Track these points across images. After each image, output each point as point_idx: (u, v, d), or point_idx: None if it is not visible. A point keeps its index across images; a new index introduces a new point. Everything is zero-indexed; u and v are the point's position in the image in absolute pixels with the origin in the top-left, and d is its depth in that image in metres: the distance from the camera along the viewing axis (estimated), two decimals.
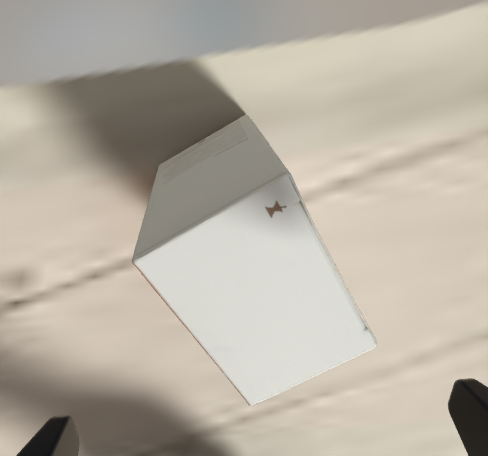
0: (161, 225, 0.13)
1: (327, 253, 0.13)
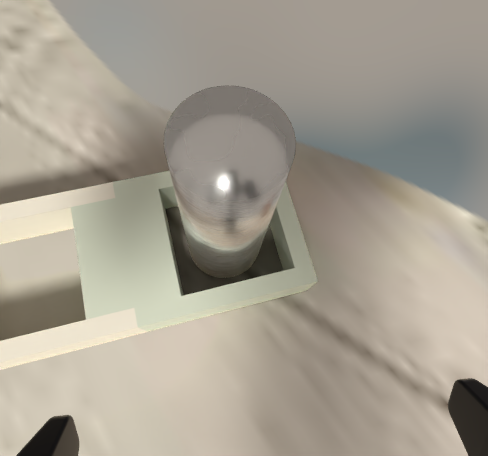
0: None
1: None
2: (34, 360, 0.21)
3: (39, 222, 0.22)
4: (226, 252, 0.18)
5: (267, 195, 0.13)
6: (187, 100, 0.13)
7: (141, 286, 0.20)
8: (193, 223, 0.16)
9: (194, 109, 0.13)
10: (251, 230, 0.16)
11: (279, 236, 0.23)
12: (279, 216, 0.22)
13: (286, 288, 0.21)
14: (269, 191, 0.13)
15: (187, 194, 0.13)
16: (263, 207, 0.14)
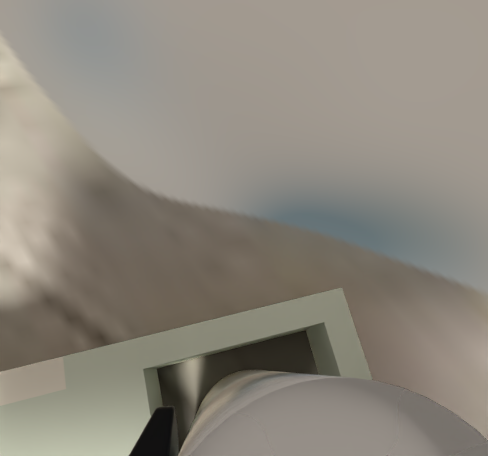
0: None
1: None
2: None
3: None
4: None
5: None
6: (205, 450, 0.04)
7: None
8: None
9: None
10: None
11: None
12: None
13: None
14: None
15: None
16: None
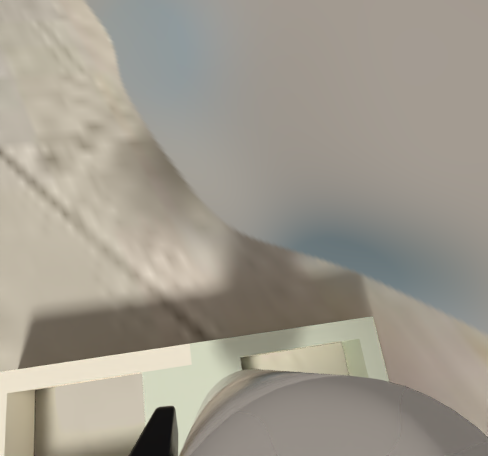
0: None
1: None
2: None
3: (103, 378, 0.20)
4: None
5: None
6: (208, 448, 0.04)
7: None
8: None
9: None
10: None
11: None
12: None
13: None
14: None
15: None
16: None
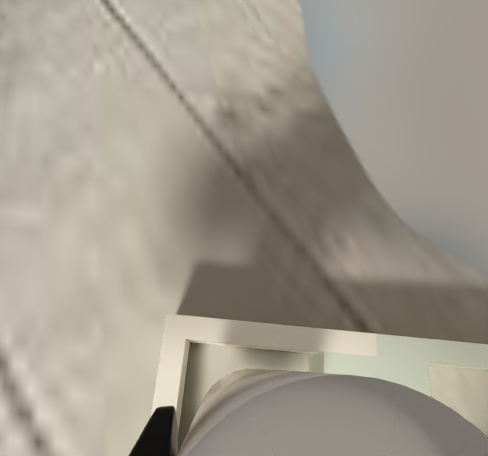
0: None
1: None
2: None
3: (274, 348, 0.18)
4: None
5: None
6: (205, 447, 0.04)
7: None
8: None
9: None
10: None
11: None
12: None
13: None
14: None
15: None
16: None
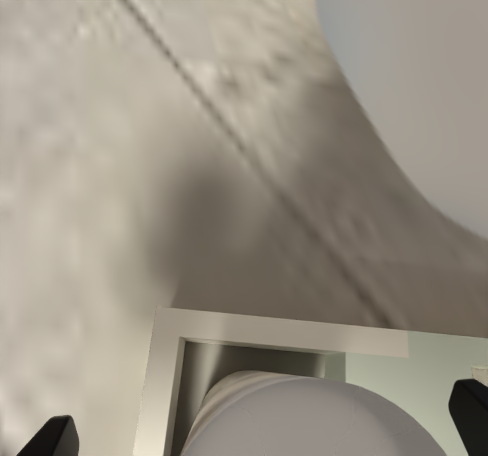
0: None
1: None
2: None
3: (284, 348, 0.16)
4: None
5: None
6: (209, 432, 0.05)
7: None
8: None
9: None
10: None
11: None
12: None
13: None
14: None
15: None
16: None
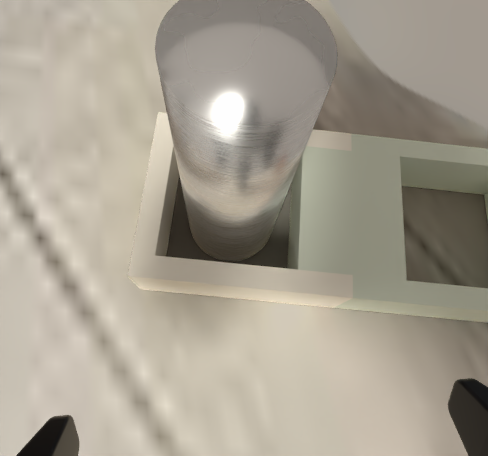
0: None
1: None
2: (210, 295, 0.19)
3: None
4: (235, 221, 0.14)
5: (298, 122, 0.09)
6: None
7: (364, 254, 0.17)
8: (195, 175, 0.12)
9: (198, 7, 0.10)
10: (270, 186, 0.12)
11: None
12: None
13: None
14: (302, 114, 0.09)
15: (187, 121, 0.09)
16: (290, 145, 0.10)
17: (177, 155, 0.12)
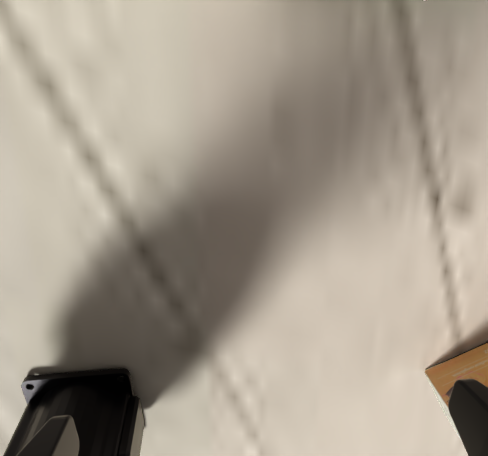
0: None
1: None
2: None
3: None
4: None
5: None
6: None
7: None
8: None
9: None
10: None
11: None
12: None
13: None
14: None
15: None
16: None
17: None
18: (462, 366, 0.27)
